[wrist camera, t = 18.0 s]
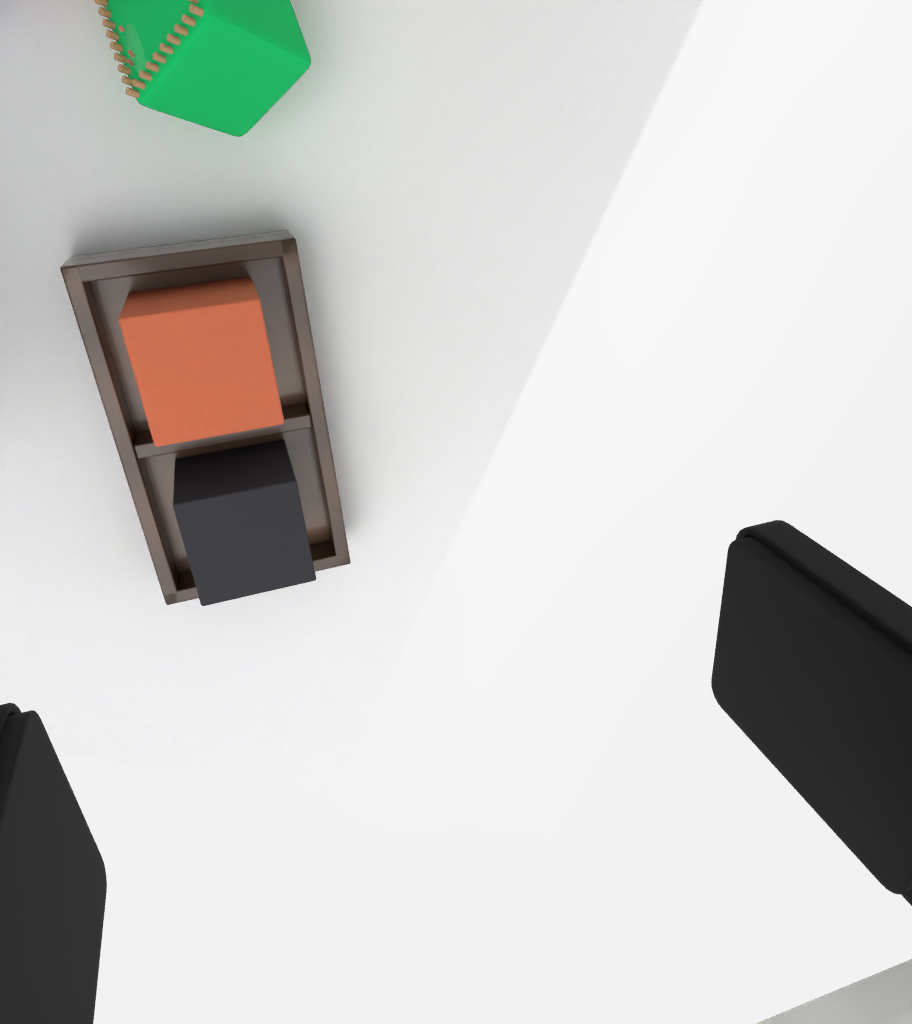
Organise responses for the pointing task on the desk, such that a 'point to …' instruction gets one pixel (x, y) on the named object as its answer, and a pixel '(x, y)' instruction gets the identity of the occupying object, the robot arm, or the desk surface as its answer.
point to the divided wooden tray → (150, 469)
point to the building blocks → (207, 56)
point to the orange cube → (201, 360)
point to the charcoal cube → (242, 521)
